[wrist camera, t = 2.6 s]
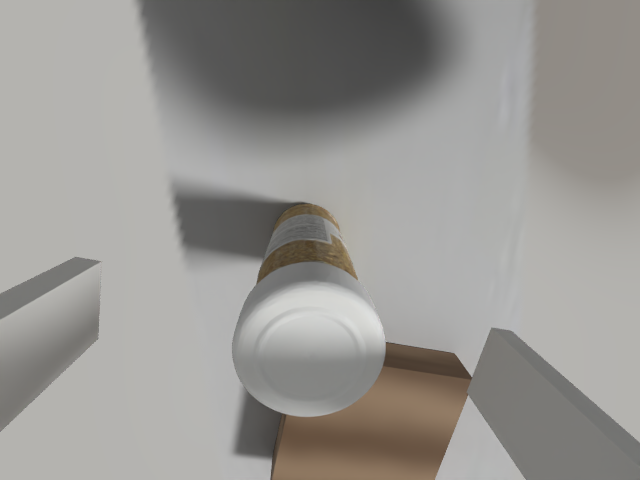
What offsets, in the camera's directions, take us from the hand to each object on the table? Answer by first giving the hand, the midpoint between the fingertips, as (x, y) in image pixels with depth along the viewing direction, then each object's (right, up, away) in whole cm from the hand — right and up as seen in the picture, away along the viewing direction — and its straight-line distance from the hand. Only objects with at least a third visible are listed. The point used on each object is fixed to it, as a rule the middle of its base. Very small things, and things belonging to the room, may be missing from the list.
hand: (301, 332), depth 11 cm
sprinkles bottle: (0, +4, +11) cm, 12 cm away
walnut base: (+4, -10, +15) cm, 19 cm away
